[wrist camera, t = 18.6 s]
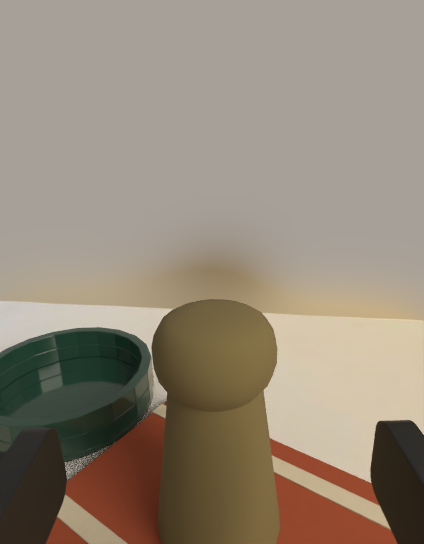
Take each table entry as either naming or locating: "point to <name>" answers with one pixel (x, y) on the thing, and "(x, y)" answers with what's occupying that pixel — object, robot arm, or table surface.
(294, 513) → the towel
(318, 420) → the table surface
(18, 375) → the dish
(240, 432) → the cork
